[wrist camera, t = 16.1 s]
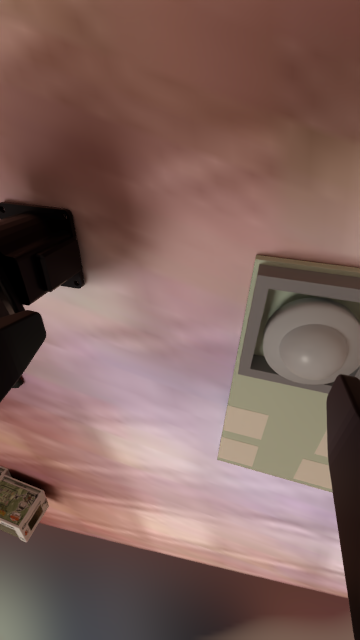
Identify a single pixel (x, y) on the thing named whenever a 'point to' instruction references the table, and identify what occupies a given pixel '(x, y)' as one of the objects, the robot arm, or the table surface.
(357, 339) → the dome
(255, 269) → the board
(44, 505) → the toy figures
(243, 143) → the table surface
